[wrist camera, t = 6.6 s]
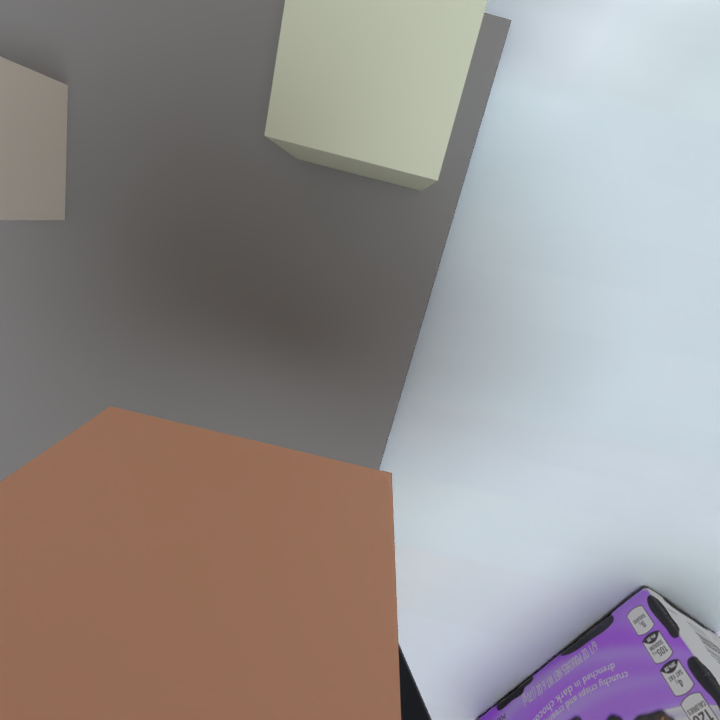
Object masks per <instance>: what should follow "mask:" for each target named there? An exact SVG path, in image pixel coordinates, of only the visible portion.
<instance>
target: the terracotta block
mask: <svg viewBox="0 0 720 720" xmlns="http://www.w3.org/2000/svg"><path fill="white" fill-rule="evenodd" d="M0 720H401V702H400V676H399V650H398V624H397V598H396V572H395V546H394V520H393V494H392V473H389V472H385V471H380V470H376V469H372V468H368V467H364V466H359V465H355V464H351V463H347V462H343V461H338V460H334V459H330V458H326V457H322V456H317V455H313V454H309V453H305V452H301V451H296V450H292V449H288V448H284V447H280V446H275V445H271V444H267V443H263V442H258V441H254V440H250V439H246V438H242V437H237V436H233V435H229V434H225V433H221V432H216V431H212V430H208V429H204V428H200V427H195V426H191V425H187V424H183V423H179V422H174V421H170V420H166V419H162V418H158V417H153V416H149V415H145V414H141V413H137V412H132V411H128V410H124V409H120V408H116V407H111V406H110V407H108V408H107V409H105V410H104V411H102V412H101V413H99V414H98V415H97V416H95V417H94V418H92V419H91V420H89V421H88V422H86V423H85V424H84V425H82V426H81V427H79V428H78V429H76V430H75V431H73V432H72V433H70V434H69V435H68V436H66V437H65V438H63V439H62V440H60V441H59V442H57V443H56V444H55V445H53V446H52V447H50V448H49V449H47V450H46V451H44V452H43V453H41V454H40V455H39V456H37V457H36V458H34V459H33V460H31V461H30V462H28V463H27V464H25V465H24V466H23V467H21V468H20V469H18V470H17V471H15V472H14V473H12V474H11V475H10V476H8V477H7V478H5V479H4V480H2V481H1V482H0Z"/></svg>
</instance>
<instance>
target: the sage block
mask: <svg viewBox="0 0 720 720" xmlns="http://www.w3.org/2000/svg"><path fill="white" fill-rule="evenodd" d="M487 1H488V0H285V5H284V11H283V18H282V24H281V31H280V37H279V44H278V50H277V57H276V63H275V70H274V76H273V83H272V89H271V96H270V102H269V109H268V115H267V122H266V128H265V135H264V136H265V137H267V138H268V139H270V140H271V141H273V142H274V143H275V144H277V145H278V146H280V147H281V148H282V149H284V150H285V151H287V152H288V153H289V154H291V155H292V156H294V157H295V158H297V159H299V160H303V161H307V162H310V163H314V164H318V165H322V166H326V167H330V168H334V169H338V170H341V171H345V172H349V173H353V174H357V175H361V176H365V177H369V178H373V179H376V180H380V181H384V182H388V183H392V184H396V185H400V186H404V187H407V188H411V189H415V190H419V191H423V190H425V189H426V188H428V187H429V186H431V185H432V184H433V183H435V182H436V181H438V178H439V174H440V171H441V167H442V164H443V160H444V156H445V153H446V149H447V145H448V142H449V138H450V135H451V131H452V127H453V124H454V120H455V117H456V113H457V109H458V106H459V102H460V99H461V95H462V91H463V88H464V84H465V80H466V77H467V73H468V70H469V66H470V62H471V59H472V55H473V52H474V48H475V44H476V41H477V37H478V33H479V30H480V26H481V23H482V19H483V15H484V12H485V8H486V5H487Z"/></svg>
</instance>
